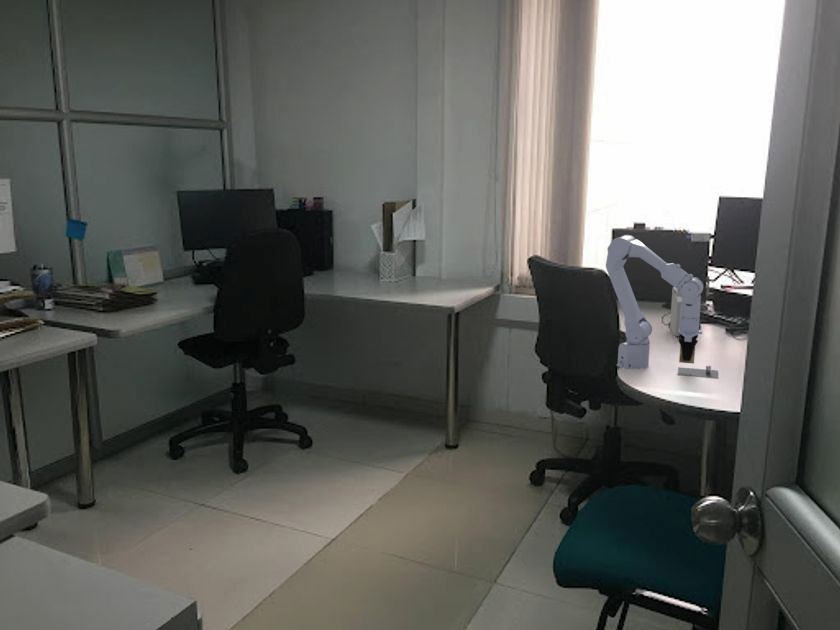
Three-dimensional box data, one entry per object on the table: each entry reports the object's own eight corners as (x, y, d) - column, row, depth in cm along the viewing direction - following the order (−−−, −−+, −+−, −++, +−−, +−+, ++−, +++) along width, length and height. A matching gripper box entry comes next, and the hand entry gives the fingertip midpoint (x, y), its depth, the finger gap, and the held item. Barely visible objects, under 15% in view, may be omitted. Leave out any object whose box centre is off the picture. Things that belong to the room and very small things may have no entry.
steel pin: (707, 374, 225) (708, 366, 224) (704, 373, 226) (705, 365, 226) (711, 374, 225) (711, 366, 225) (708, 372, 227) (709, 365, 226)
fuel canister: (690, 338, 272) (694, 274, 267) (676, 338, 273) (680, 274, 268) (682, 329, 287) (686, 268, 282) (669, 329, 288) (673, 267, 282)
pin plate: (677, 378, 225) (677, 375, 225) (678, 370, 233) (678, 367, 233) (718, 381, 221) (718, 378, 221) (717, 373, 229) (718, 370, 229)
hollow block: (679, 362, 226) (680, 347, 225) (679, 358, 230) (680, 343, 229) (693, 363, 225) (695, 348, 224) (694, 359, 229) (695, 344, 228)
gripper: (703, 322, 216) (700, 365, 219) (703, 312, 229) (700, 353, 232) (678, 321, 219) (675, 363, 222) (680, 311, 232) (677, 351, 235)
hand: (686, 358), depth 227 cm, fingers closed on hollow block, 4 cm apart
